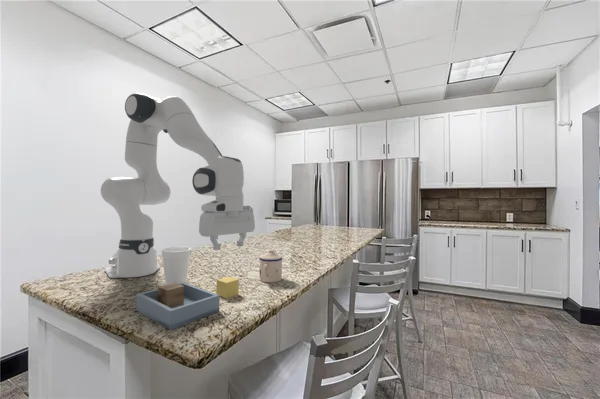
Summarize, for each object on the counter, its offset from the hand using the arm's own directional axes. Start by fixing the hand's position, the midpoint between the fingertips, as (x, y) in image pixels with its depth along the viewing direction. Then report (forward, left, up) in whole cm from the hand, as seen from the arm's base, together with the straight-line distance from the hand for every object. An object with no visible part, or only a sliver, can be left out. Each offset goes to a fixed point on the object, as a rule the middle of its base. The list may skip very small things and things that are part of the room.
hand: (228, 247), depth 89 cm
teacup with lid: (0, +20, -16) cm, 25 cm away
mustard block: (0, 0, -16) cm, 16 cm away
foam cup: (-21, -6, -16) cm, 27 cm away
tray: (0, -17, -15) cm, 23 cm away
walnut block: (-4, -17, -14) cm, 23 cm away
